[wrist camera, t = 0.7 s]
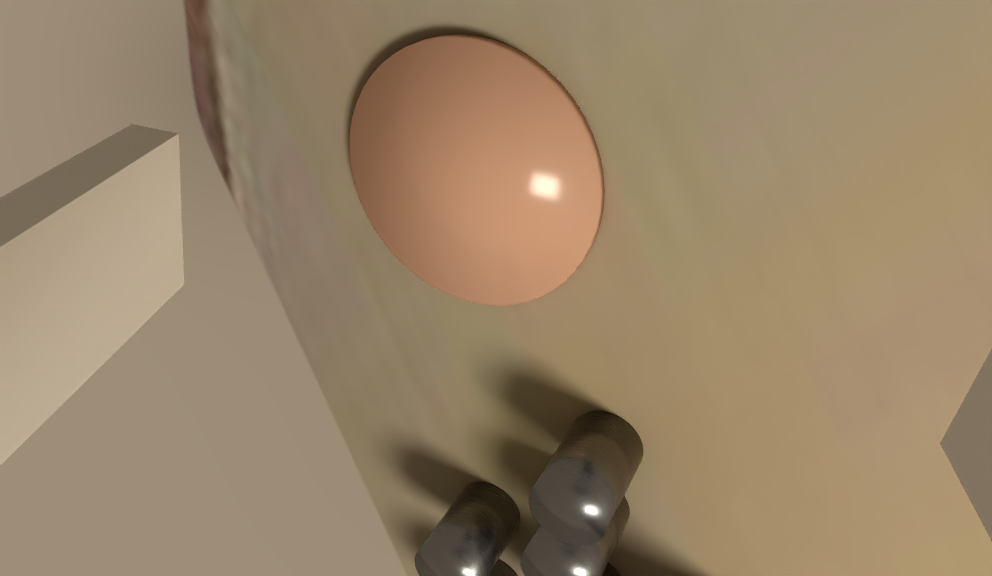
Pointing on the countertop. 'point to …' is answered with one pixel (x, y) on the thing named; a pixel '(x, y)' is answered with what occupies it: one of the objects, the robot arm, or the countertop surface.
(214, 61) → the countertop surface
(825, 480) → the countertop surface
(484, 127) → the peach disc
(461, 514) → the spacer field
